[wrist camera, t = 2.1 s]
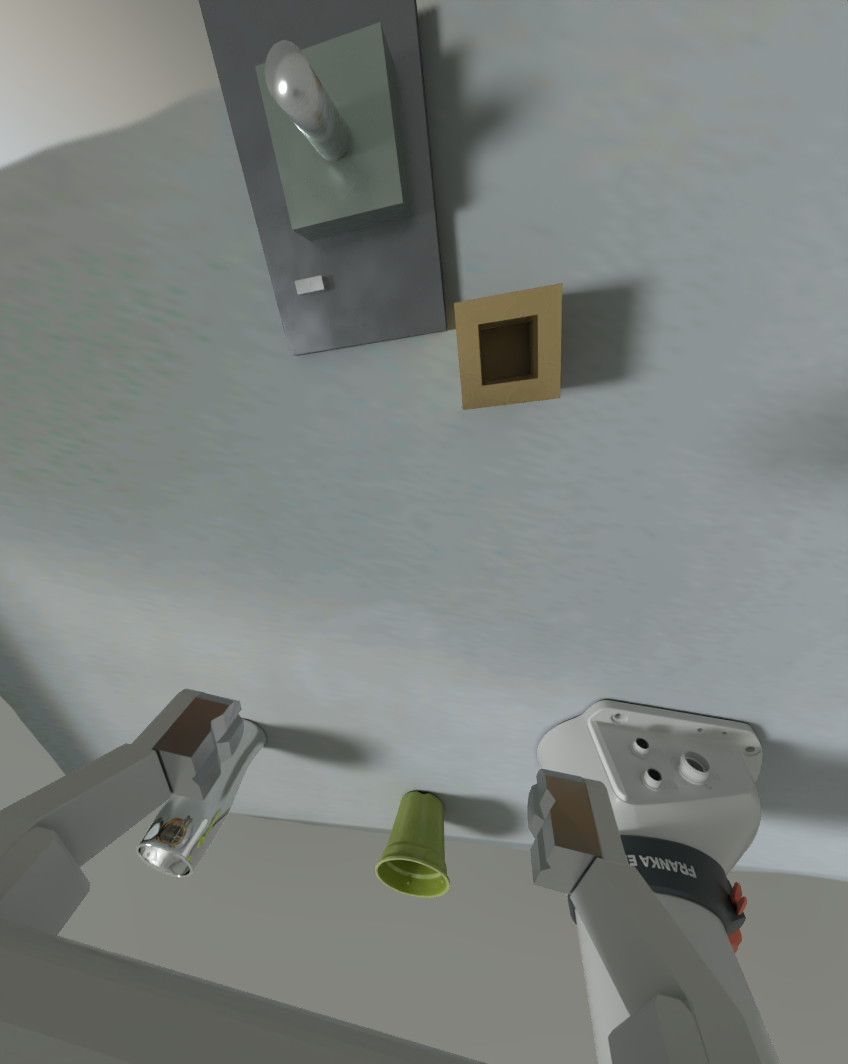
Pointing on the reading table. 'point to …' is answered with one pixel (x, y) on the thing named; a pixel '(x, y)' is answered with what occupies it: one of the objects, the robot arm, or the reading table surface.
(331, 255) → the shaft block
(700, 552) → the reading table surface
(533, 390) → the tan square sleeve
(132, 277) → the reading table surface
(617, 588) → the reading table surface
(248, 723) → the beer glass
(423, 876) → the plant pot
